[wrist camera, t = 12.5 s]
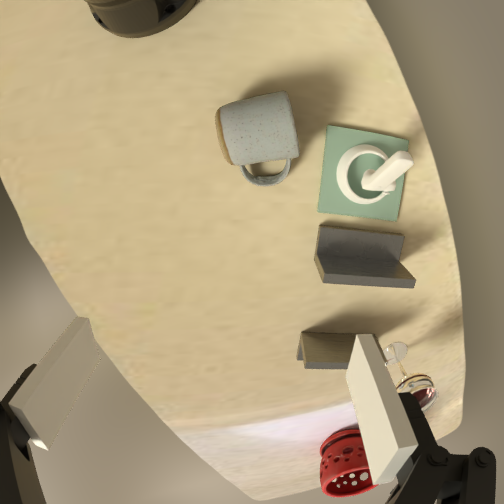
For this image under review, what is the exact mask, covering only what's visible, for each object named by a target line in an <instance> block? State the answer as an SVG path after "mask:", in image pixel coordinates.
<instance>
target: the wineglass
mask: <svg viewBox="0 0 504 504" xmlns="http://www.w3.org/2000/svg"><path fill="white" fill-rule="evenodd" d="M383 353H384V355H385V357H386V359H387V361H388V363H387V365H392V364H396V363H398V366H399V368H400V371H401V373H402V375H403V378H402V379H401V380H400V381H399V382H398V384H397V385H396V387H395V388H396V390H397V392H398V393H402V392H410V393H411V394H412V395H413V396H414V397H415V398H416V399H417V400H418V402H419V404H420V406H421V408H422V409H421V410H422V411H423V413H424V412H426V411H427V410H429V409H430V408H431V407H432V406H433V405H434V403H435V402H436V400H437V398H438V391H437V389H435V386H434V383H433V381H432V379H431V378H430V377H429V376H427V375H425V374H423V373H413V374H409V375H407V373H406V371H405V370H404V368H403V366H402V364H401V363H400V361H401V360H402V359H403V358H404V357H405V355H406V354H407V346H406V345H405V344H404V343H401V342H397V343H393V344H391V345H389V346H388V347H386V348H385V349H384V351H383Z"/></svg>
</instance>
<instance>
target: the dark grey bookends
mask: <svg viewBox="0 0 504 504" xmlns="http://www.w3.org/2000/svg"><path fill="white" fill-rule="evenodd" d="M403 241H404V236H403V235H402V234H397V233H388V232H380V231H371V230H362V229H352V228H343V227H333V226H323V225H319V230H318V237H317V244H316V250H315V257H314V261H315V263H316V266H317V269H318V271H319V274H320V277H321V279H322V282H323V283H331V284H346V285H361V286H378V287H395V288H414V286H415V282H416V279H415V278H414V277H413V276H412V275H411V274H410V272H409V271H408V270H407V269H406V268H405V267H404V266H403V265H402V264H401V263H400V262H399V258H400V254H401V250H402V245H403ZM356 335H357V334H337V333H312V332H301V336H300V341H299V346H298V351H297V360H304V367H305V369H348V366H349V362H350V358H351V354H352V351H353V347H354V343H355V339H356ZM372 336H373V338H374V340H375V342H376V345H377V347H378V349H379V351H380V353H381V356H382V358H383V360H384V362H385V365H386V366H387V363H388V361H387V359H386V357H385V355H384V353H383V350H382V348H381V346H380V344H379V342H378V340H377V338H376V336H375V334H372Z"/></svg>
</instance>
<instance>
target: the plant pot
mask: <svg viewBox="0 0 504 504" xmlns="http://www.w3.org/2000/svg"><path fill="white" fill-rule="evenodd" d="M320 455H321V456H322V460H321V464H320V482H321V487H322V491H323V492H324V493H325V494H326V495H328V496H332V497H348V496H354V495H358V494H361V493H364V492H366V491H369V490H371V489H373V488H374V487H376V486H377V485H379V484H377V485H373V482H372V477H371V473H370V469H369V465H368V460H367V456H366V452H365V448H364V444H363V440H362V436H361V432H360V430H358V429H351V430H345V431H341V432H338V433H336V434H334V435H332V436H330V437H329V438H328V439H326V440H325V441H324V443H323V444H322V445H321V448H320ZM364 472H367V473H368V478H367V479H366V480H364V481H363V480H360V475H361V474H362V473H364ZM352 473H353V474H355V477H354V478H350V477H349V475H350V474H352ZM341 475H343V477H340V476H341ZM335 478H337V480H336V482H332V480H334V479H335ZM344 481H346V482H347V484H343V482H344ZM353 481H357V485H354V486H353V485H352V484H351V483H352V482H353ZM337 484H338V485H340V488H338V487H337Z"/></svg>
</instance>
